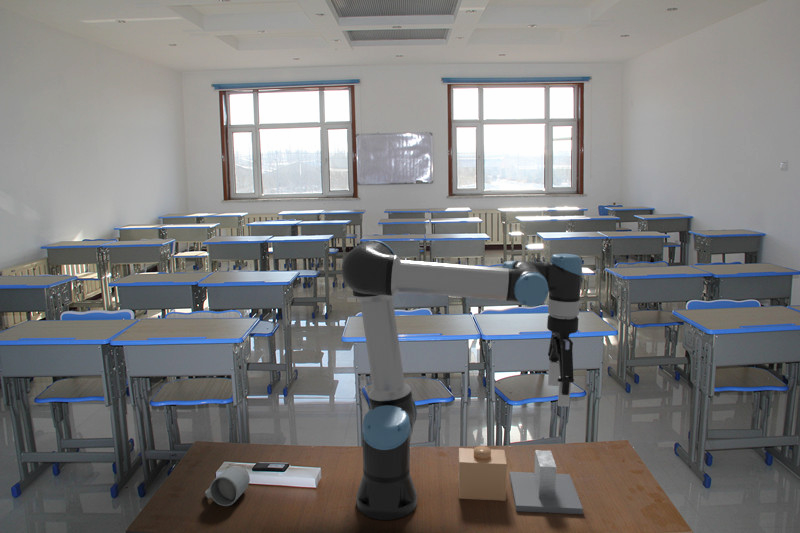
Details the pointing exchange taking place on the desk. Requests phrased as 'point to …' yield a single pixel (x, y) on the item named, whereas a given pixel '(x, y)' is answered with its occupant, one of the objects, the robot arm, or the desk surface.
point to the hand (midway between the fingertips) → (558, 395)
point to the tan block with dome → (482, 474)
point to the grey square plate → (544, 488)
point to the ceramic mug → (228, 486)
